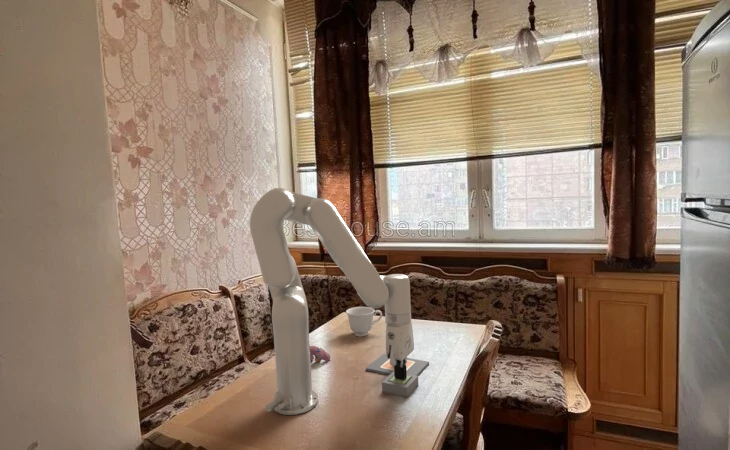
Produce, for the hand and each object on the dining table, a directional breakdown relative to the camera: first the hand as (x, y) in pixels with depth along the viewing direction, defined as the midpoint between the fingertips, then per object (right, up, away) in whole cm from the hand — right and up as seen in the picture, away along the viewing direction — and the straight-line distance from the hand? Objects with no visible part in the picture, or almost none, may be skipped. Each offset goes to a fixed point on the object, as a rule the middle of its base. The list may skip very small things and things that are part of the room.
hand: (400, 378), depth 116 cm
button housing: (0, -3, 0) cm, 3 cm away
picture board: (0, -2, +15) cm, 15 cm away
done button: (0, -2, 0) cm, 2 cm away
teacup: (-11, 0, +48) cm, 49 cm away
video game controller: (-28, -3, +23) cm, 36 cm away
